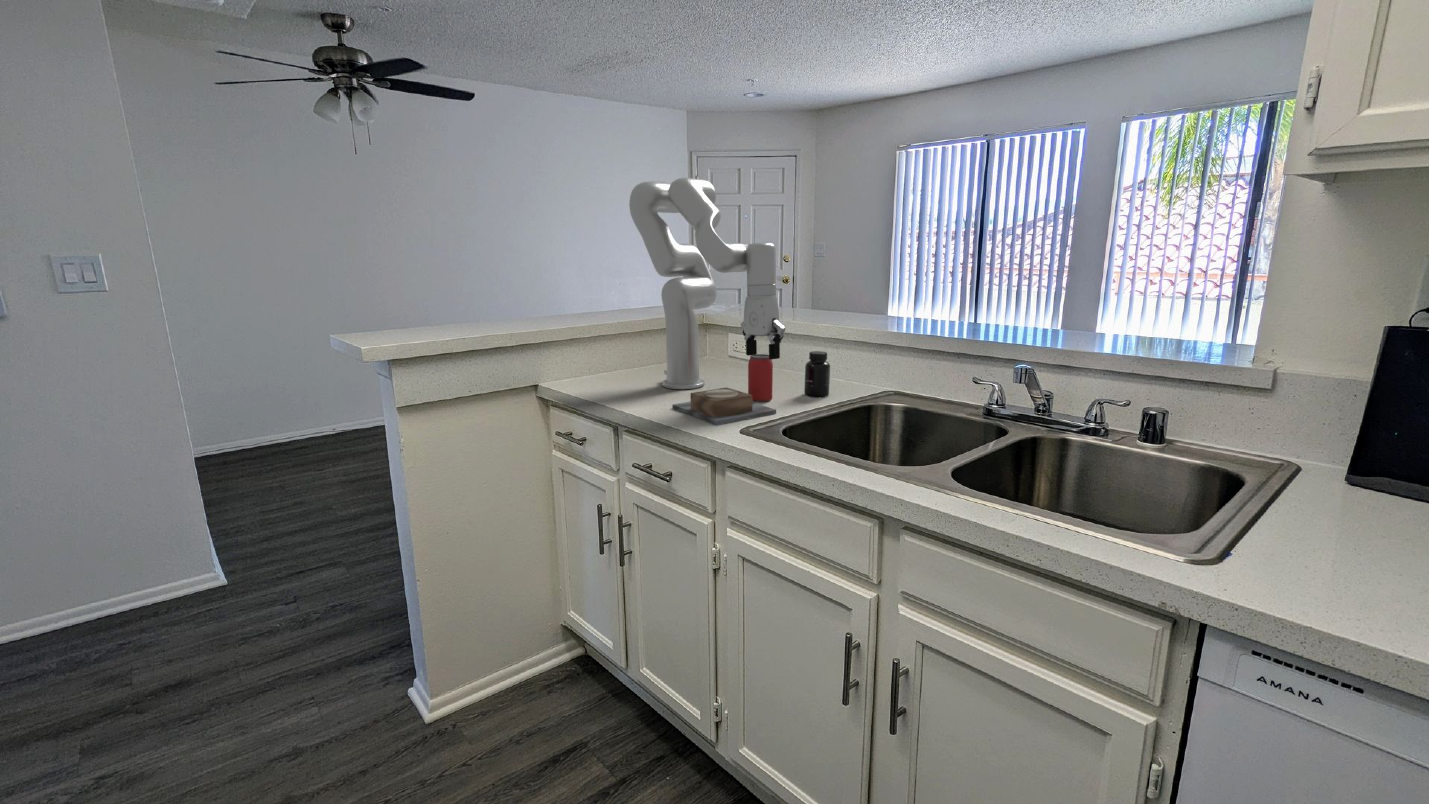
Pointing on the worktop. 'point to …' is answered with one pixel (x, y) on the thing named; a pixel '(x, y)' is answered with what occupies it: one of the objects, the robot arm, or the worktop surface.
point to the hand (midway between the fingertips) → (762, 356)
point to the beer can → (760, 377)
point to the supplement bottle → (817, 375)
